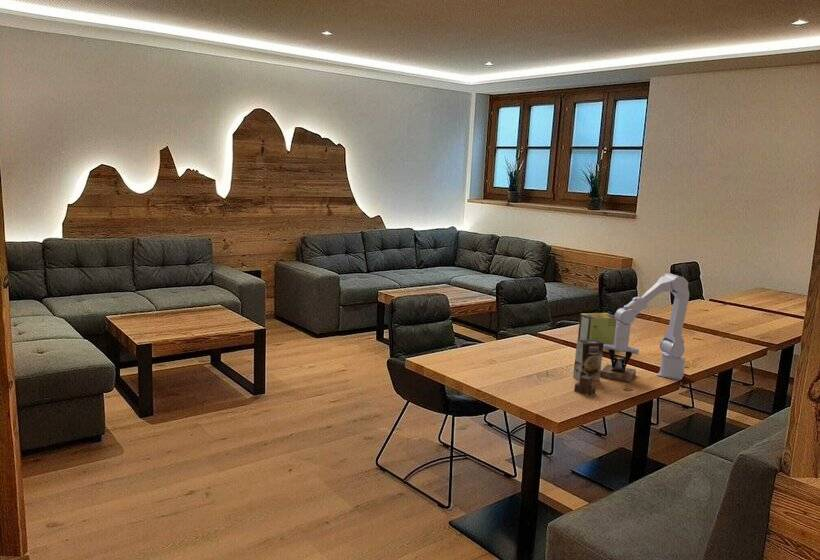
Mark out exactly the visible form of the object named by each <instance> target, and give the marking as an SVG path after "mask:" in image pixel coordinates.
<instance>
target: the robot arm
mask: <svg viewBox="0 0 820 560" xmlns="http://www.w3.org/2000/svg"><path fill="white" fill-rule="evenodd" d="M663 292H667V293H668V292H671V294H672V295H673V296H674V299H673V303H672V304H673V305H672V309H671V314H670V319H669V323H668V329H667V332H666V333H665V334H663V337H662V339H661V341H660V342H659V349H660V350H661V359H660V360H661V361H660V369H659V371H658V373H657V376H658V377H664V378H667V379H672V380H673V379H674V380H679V381H681V380H682V379H683V377H684V376H685V375H684V374H685V367H686V365H685V364H686V358H685V357H682V356H683V355H684V353H685V339H684V338H683V336H682V333H683V329H684V324H685V318H686V314H687V310H688V304H689V299H690V291H689V281H688V280H687V279H686V278H685V277H684V276H681V275H680V276H679V275H677V274H673V273H671V272H667V273H666V272H665V273H664V274H663V275H662V276H661V277H659V278H658V280H657V281H656V282H655V283H654V284H653V285H652V286H651V287H650V288H649V289H648V290H647V291H646V292H644V293H643V295H641V296H634V297H633V298H632V300H630V302H628V303H627V304H625V305H624V306H623V307H619V308H618V309H617V310H616V311H615V313H614V315H613V316H614V317H615V319H616V330H615V340H614V345H606V344H604V345H603V351H605V350H606V351H608V355H609V357H610V361H611V365H612V368H614V360H615V357H616V355H615V354H616V352H620V353H625V355H624V359H625V360H624V370H625V368H627V365H628V362H630V359H631V358H632V355H633V354H635V355H639V354H640V348H635V347H629V345H630V344H629V342H630V335H631V333H630V332H631V326H632V325H631V324H632V323H633V322H634V321H635V317H637V315H638V314H640V313H641V312H642V311H643V310H645V309H646V308H647V307H648V303H649V302H651V300H653V299H655V298H657V296H659V295H660V294H662V293H663Z"/></svg>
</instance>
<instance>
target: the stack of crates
mask: <svg viewBox="0 0 820 560" xmlns="http://www.w3.org/2000/svg"><path fill="white" fill-rule="evenodd" d="M592 383H593V381H592V377H589V376H586V375H583V376H581V377H580V381H579V382H577V383H575V384H574V388H573V389H574V392H576V391H577V392H576V393H579V392H580V394H583V393H584V394H583V395H586V394H588V395H587V396H590V395H592V396H594V395H596V390H597V387H596V386H593V385H592ZM593 394H594V395H593Z"/></svg>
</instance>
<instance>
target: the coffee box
mask: <svg viewBox="0 0 820 560" xmlns="http://www.w3.org/2000/svg"><path fill="white" fill-rule="evenodd" d="M603 345H604V343H602V342H600V341H597V340H578V339H577V340H576V349H575V357H574V366H573V374H572V375H573V376H572V377H573V378H575V379H576V380H578V381H579V382H580V377H581V376H583V375H586V376H589V377H592V380H593V381H592V382H594V380H599V381H600V379H601V377H600V372H601V370H602V361H603V353H604V352H603V351H604V350H603Z"/></svg>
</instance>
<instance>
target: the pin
mask: <svg viewBox="0 0 820 560" xmlns="http://www.w3.org/2000/svg"><path fill="white" fill-rule="evenodd" d="M624 363H625V357H619V356H615V357H614V369H613V371H615V372H620V373H623V370H624Z"/></svg>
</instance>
